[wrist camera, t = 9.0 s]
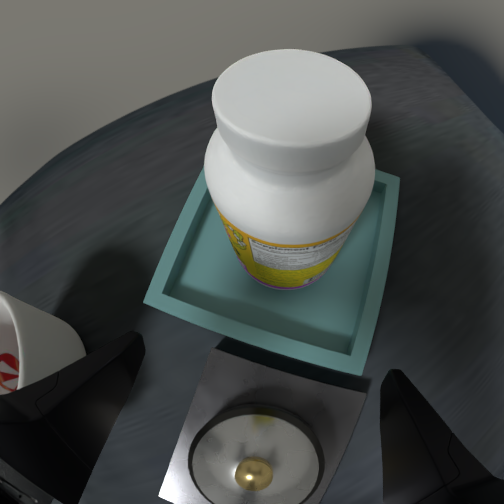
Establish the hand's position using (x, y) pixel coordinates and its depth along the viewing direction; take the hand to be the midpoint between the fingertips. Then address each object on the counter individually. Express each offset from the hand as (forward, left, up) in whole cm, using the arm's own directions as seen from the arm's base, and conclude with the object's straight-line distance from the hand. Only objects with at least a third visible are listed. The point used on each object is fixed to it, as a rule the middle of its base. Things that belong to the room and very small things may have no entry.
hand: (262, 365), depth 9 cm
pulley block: (-6, -2, -9) cm, 11 cm away
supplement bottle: (+7, +1, -8) cm, 11 cm away
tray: (+8, +1, -9) cm, 12 cm away
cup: (-7, +13, -9) cm, 18 cm away
